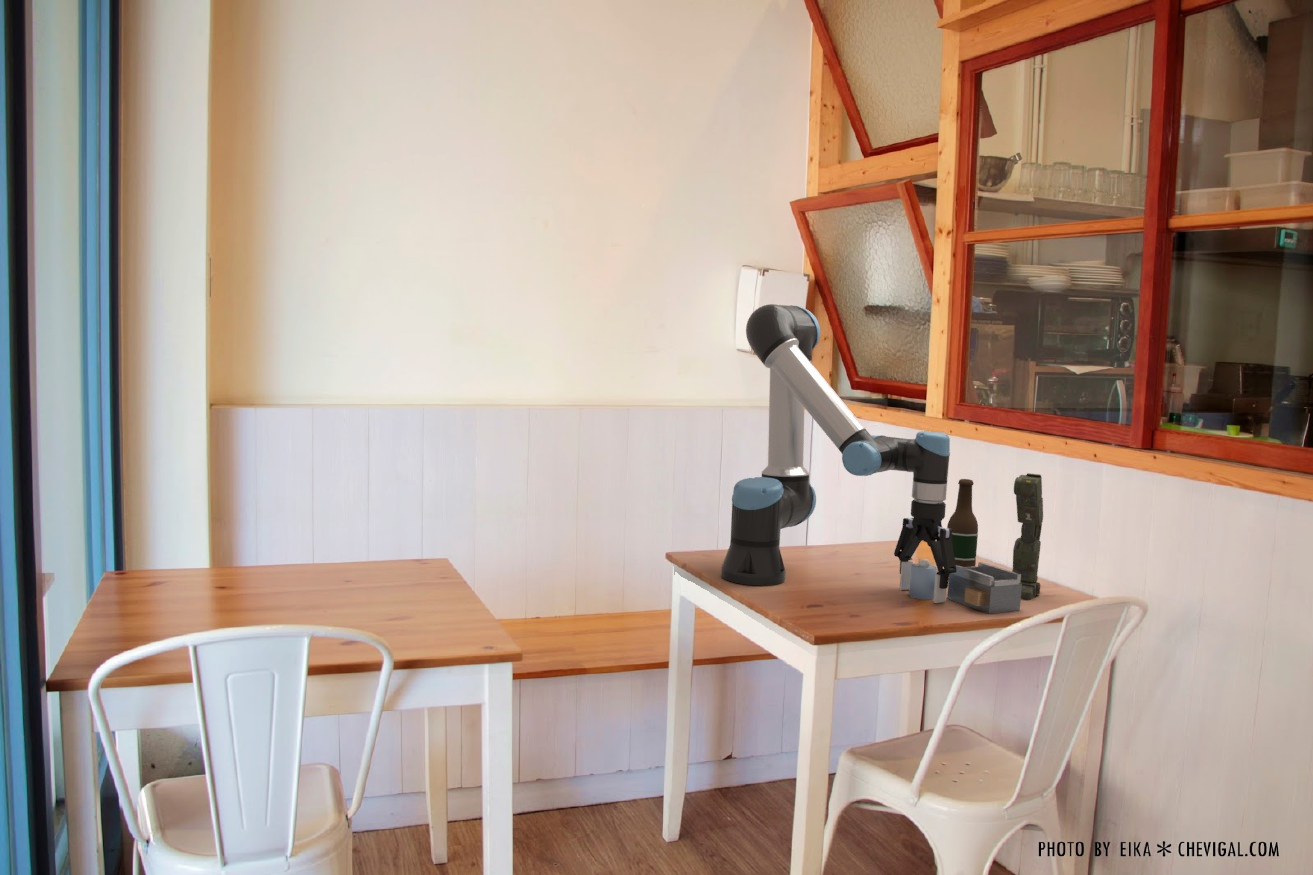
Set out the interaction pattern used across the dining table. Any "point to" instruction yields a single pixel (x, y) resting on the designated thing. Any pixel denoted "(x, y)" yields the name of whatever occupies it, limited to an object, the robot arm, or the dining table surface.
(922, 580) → the light blue bottle
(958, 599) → the open grey metal box
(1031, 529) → the mechanical leg
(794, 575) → the dining table surface
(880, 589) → the dining table surface
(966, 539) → the beer bottle
